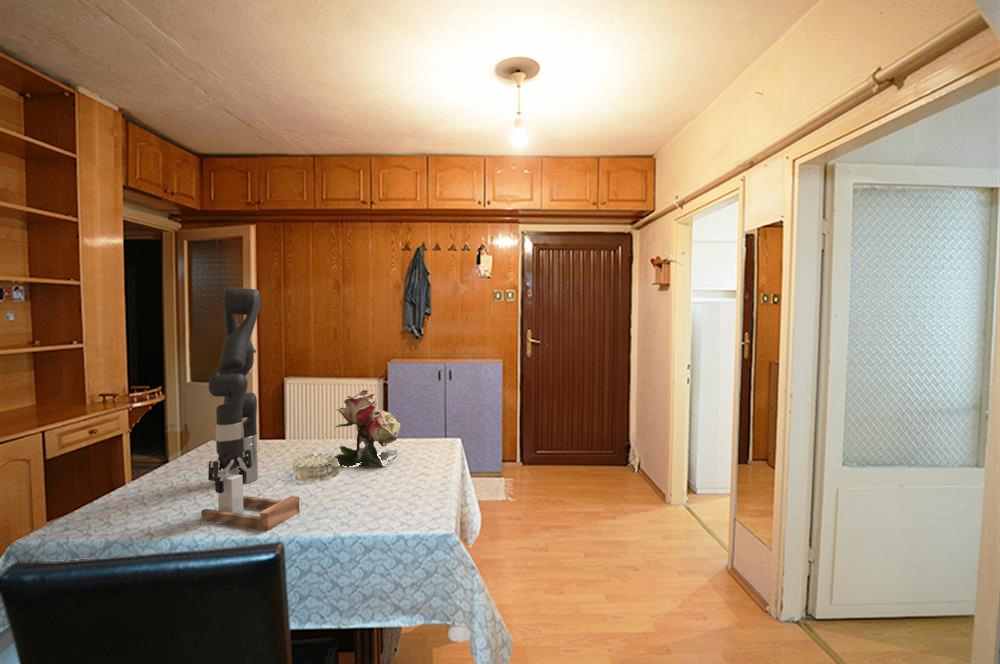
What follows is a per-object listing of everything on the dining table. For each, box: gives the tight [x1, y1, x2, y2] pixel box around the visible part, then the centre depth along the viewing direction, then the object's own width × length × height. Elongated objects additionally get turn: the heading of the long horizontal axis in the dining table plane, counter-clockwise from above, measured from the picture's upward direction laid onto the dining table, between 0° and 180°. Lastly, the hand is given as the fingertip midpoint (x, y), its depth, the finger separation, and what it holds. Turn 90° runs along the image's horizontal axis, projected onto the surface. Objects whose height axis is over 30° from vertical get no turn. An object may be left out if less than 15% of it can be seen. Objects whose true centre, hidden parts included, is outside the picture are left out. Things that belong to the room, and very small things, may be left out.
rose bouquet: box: [324, 389, 402, 468], centre depth 202 cm, size 26×29×30 cm
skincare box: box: [217, 473, 244, 514], centre depth 146 cm, size 6×4×12 cm
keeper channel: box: [200, 495, 300, 531], centre depth 144 cm, size 25×13×5 cm, turn 74°
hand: (231, 487), depth 146 cm, fingers open, 8 cm apart
